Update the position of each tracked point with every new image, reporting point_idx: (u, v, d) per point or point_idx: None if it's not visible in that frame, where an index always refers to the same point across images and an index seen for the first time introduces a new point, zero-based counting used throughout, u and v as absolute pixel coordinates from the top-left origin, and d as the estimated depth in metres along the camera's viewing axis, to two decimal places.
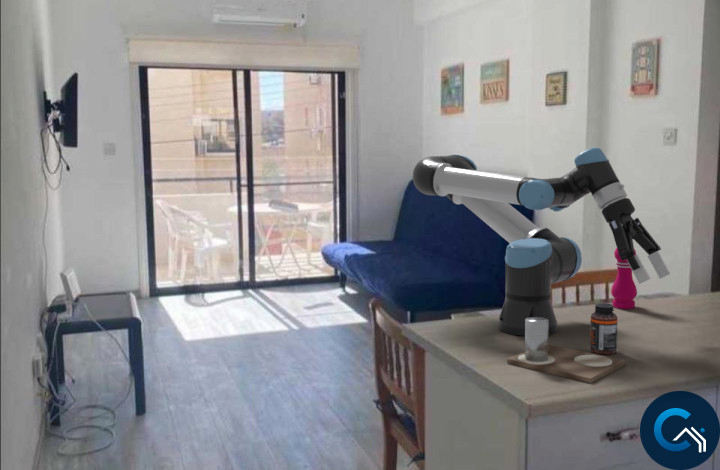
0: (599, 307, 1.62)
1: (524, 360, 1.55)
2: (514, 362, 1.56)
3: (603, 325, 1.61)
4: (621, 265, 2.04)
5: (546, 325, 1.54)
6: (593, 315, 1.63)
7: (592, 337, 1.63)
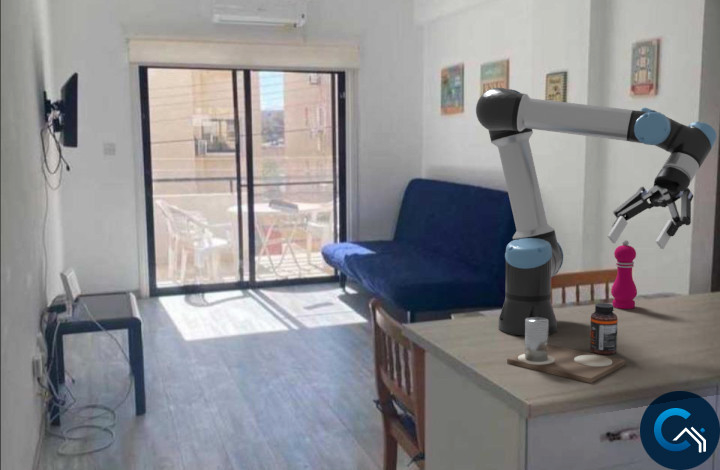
0: (599, 307, 1.62)
1: (524, 360, 1.55)
2: (514, 362, 1.56)
3: (603, 325, 1.61)
4: (621, 265, 2.04)
5: (546, 325, 1.54)
6: (593, 315, 1.63)
7: (592, 337, 1.63)
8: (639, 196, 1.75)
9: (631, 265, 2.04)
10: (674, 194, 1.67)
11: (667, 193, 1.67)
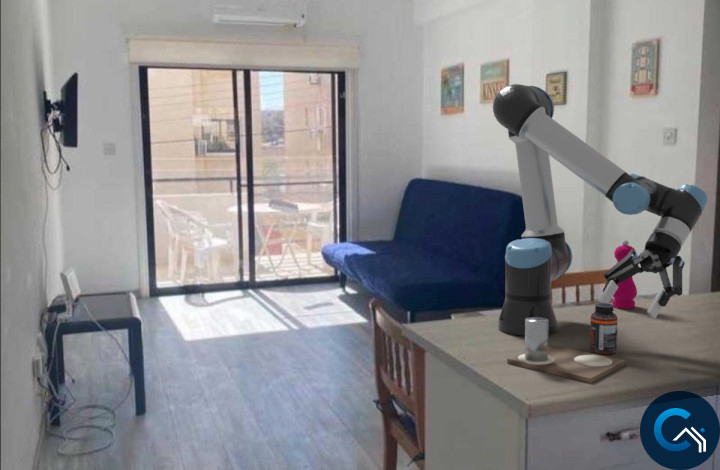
0: (599, 307, 1.62)
1: (524, 360, 1.55)
2: (514, 362, 1.56)
3: (603, 325, 1.61)
4: None
5: (546, 325, 1.54)
6: (593, 315, 1.63)
7: (592, 337, 1.63)
8: (630, 259, 1.73)
9: None
10: (665, 261, 1.65)
11: (658, 260, 1.66)
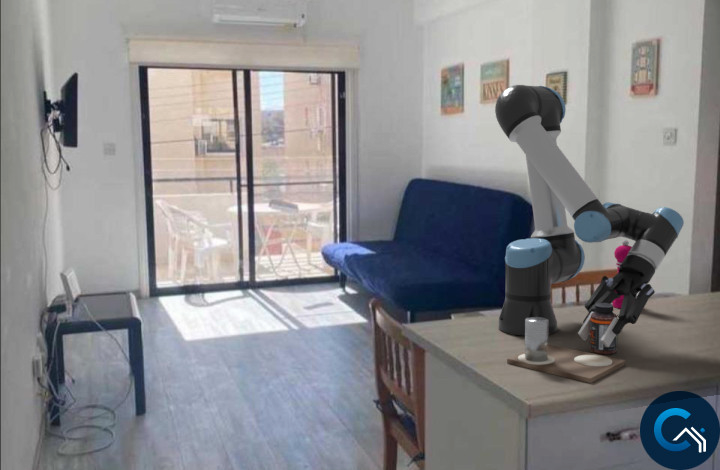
0: (599, 307, 1.62)
1: (524, 360, 1.55)
2: (514, 362, 1.56)
3: (603, 325, 1.61)
4: None
5: (546, 325, 1.54)
6: (593, 315, 1.63)
7: (592, 337, 1.63)
8: (605, 286, 1.70)
9: None
10: (636, 285, 1.63)
11: (629, 284, 1.64)
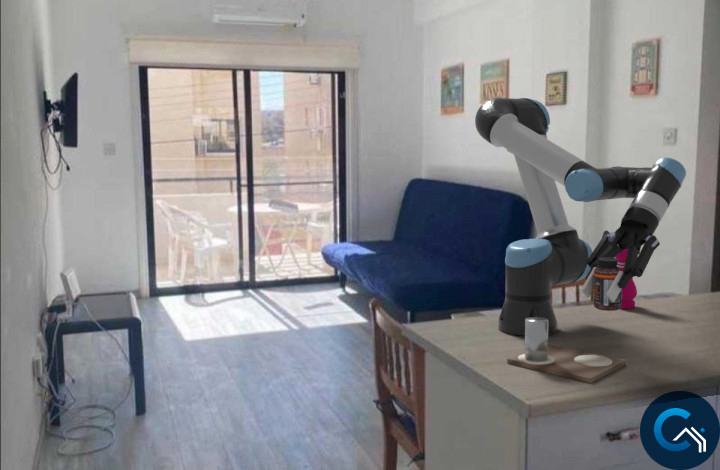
0: (603, 261, 1.54)
1: (524, 360, 1.55)
2: (514, 362, 1.56)
3: (608, 279, 1.53)
4: (621, 265, 2.04)
5: (546, 325, 1.54)
6: (597, 270, 1.55)
7: (596, 293, 1.56)
8: (607, 240, 1.63)
9: None
10: (641, 237, 1.56)
11: (633, 237, 1.57)
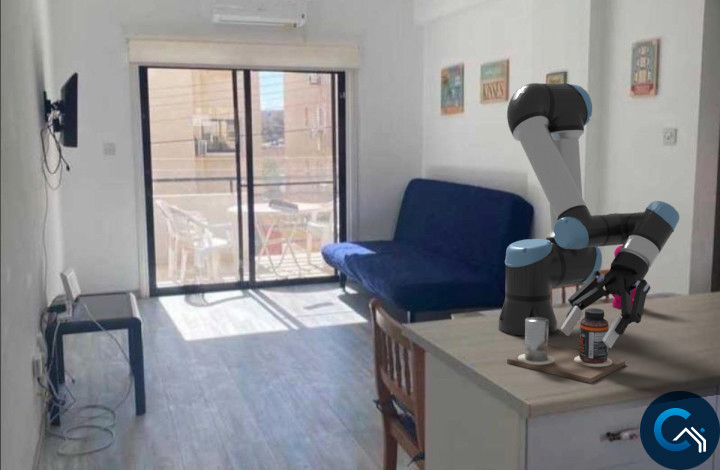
0: (589, 313, 1.52)
1: (524, 360, 1.55)
2: (514, 362, 1.56)
3: (594, 332, 1.51)
4: None
5: (546, 325, 1.54)
6: (583, 321, 1.53)
7: (582, 345, 1.53)
8: (594, 282, 1.61)
9: None
10: (630, 283, 1.53)
11: (622, 282, 1.54)
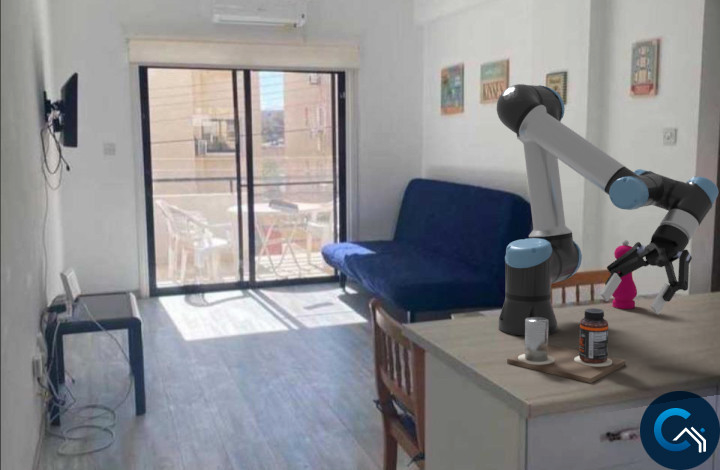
0: (589, 313, 1.52)
1: (524, 360, 1.55)
2: (514, 362, 1.56)
3: (593, 332, 1.51)
4: None
5: (546, 325, 1.54)
6: (582, 321, 1.53)
7: (582, 345, 1.53)
8: (635, 252, 1.67)
9: None
10: (672, 255, 1.59)
11: (664, 253, 1.59)
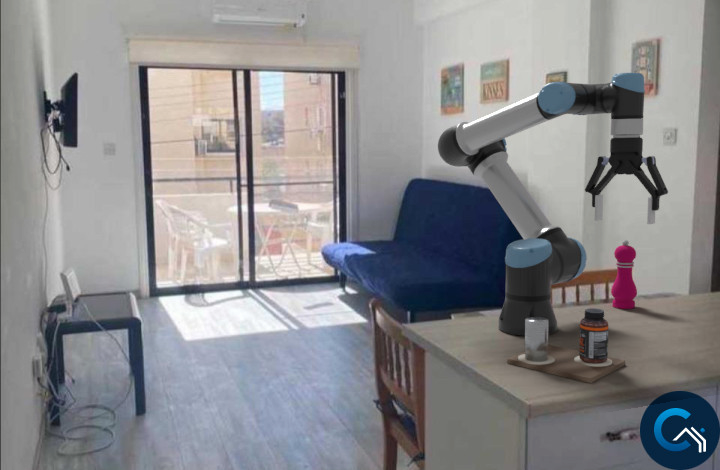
0: (589, 313, 1.52)
1: (524, 360, 1.55)
2: (514, 362, 1.56)
3: (594, 332, 1.51)
4: (621, 265, 2.04)
5: (546, 325, 1.54)
6: (582, 321, 1.53)
7: (582, 345, 1.53)
8: (601, 167, 1.78)
9: (631, 265, 2.04)
10: (638, 164, 1.71)
11: (631, 166, 1.71)
